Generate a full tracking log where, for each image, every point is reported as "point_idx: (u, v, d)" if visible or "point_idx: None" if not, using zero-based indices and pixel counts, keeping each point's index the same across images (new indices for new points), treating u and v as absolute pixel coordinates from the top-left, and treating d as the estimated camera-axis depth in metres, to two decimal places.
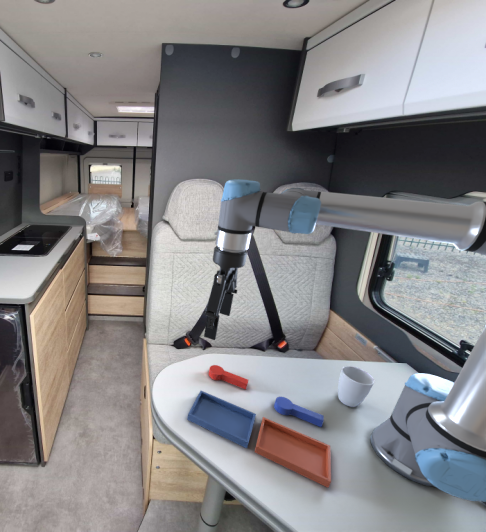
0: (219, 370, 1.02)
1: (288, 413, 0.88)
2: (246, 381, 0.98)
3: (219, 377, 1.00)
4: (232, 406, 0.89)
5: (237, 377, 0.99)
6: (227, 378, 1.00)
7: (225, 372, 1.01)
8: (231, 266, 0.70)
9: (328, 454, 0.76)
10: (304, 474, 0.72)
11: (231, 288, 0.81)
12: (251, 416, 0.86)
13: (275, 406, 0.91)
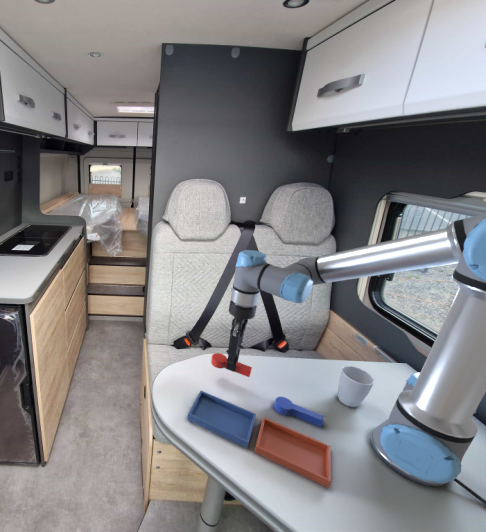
0: (221, 357, 1.00)
1: (288, 413, 0.88)
2: (249, 368, 0.96)
3: (222, 365, 0.98)
4: (232, 406, 0.89)
5: (240, 365, 0.97)
6: None
7: None
8: (244, 318, 0.88)
9: (328, 454, 0.76)
10: (304, 474, 0.72)
11: (239, 341, 0.96)
12: (251, 416, 0.86)
13: (275, 406, 0.91)
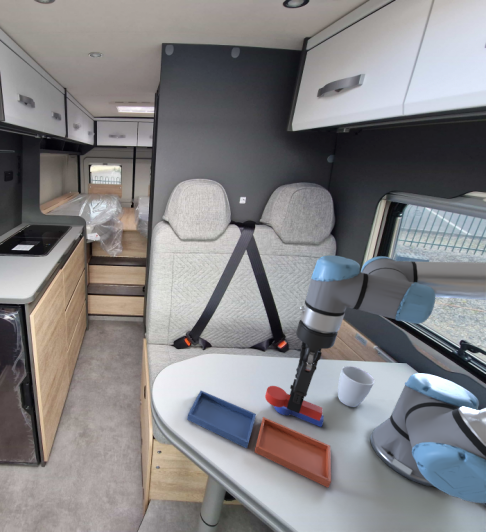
0: (280, 393, 0.77)
1: (288, 413, 0.88)
2: (320, 410, 0.73)
3: (282, 403, 0.76)
4: (232, 406, 0.89)
5: (306, 404, 0.75)
6: None
7: (289, 396, 0.77)
8: (322, 347, 0.66)
9: (328, 454, 0.76)
10: (304, 474, 0.72)
11: None
12: (251, 416, 0.86)
13: None
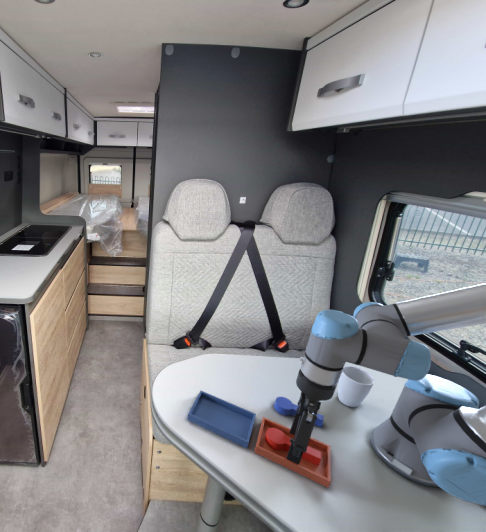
0: (279, 436, 0.79)
1: (288, 413, 0.88)
2: (319, 455, 0.74)
3: (281, 446, 0.77)
4: (232, 406, 0.89)
5: None
6: None
7: (288, 440, 0.78)
8: (321, 399, 0.67)
9: (328, 454, 0.76)
10: (304, 474, 0.72)
11: None
12: (251, 416, 0.86)
13: (275, 406, 0.91)
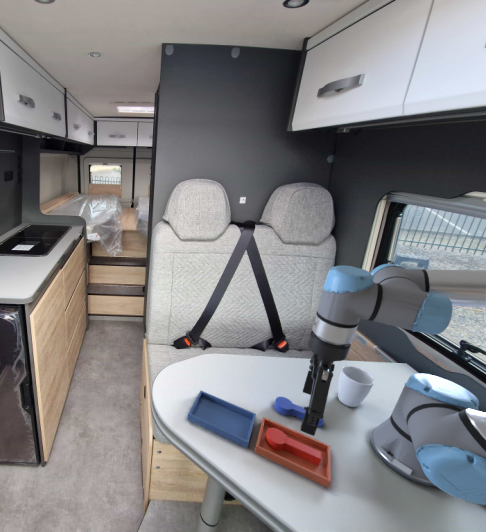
0: (279, 436, 0.79)
1: (288, 413, 0.88)
2: (319, 455, 0.74)
3: (281, 446, 0.77)
4: (232, 406, 0.89)
5: (306, 448, 0.76)
6: (292, 449, 0.76)
7: (288, 440, 0.78)
8: (335, 359, 0.64)
9: (328, 454, 0.76)
10: (304, 474, 0.72)
11: None
12: (251, 416, 0.86)
13: (275, 406, 0.91)
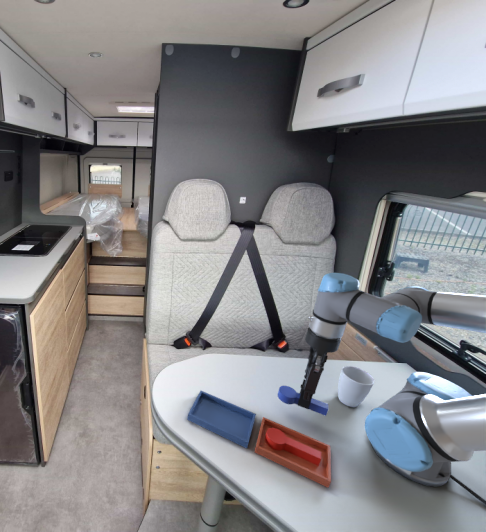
0: (279, 436, 0.79)
1: (292, 402, 0.87)
2: (319, 455, 0.74)
3: (281, 446, 0.77)
4: (232, 406, 0.89)
5: (306, 448, 0.76)
6: (292, 449, 0.76)
7: (288, 440, 0.78)
8: (328, 351, 0.76)
9: (328, 454, 0.76)
10: (304, 474, 0.72)
11: None
12: (251, 416, 0.86)
13: (278, 395, 0.89)
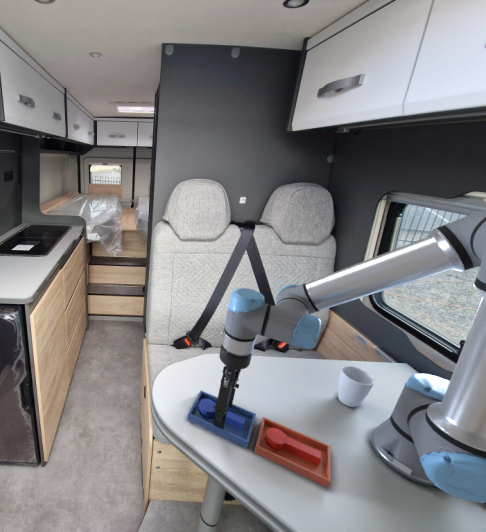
0: (279, 436, 0.79)
1: (210, 416, 0.86)
2: (319, 455, 0.74)
3: (281, 446, 0.77)
4: (232, 406, 0.89)
5: (306, 448, 0.76)
6: (292, 449, 0.76)
7: (288, 440, 0.78)
8: (237, 368, 0.75)
9: (328, 454, 0.76)
10: (304, 474, 0.72)
11: None
12: (251, 416, 0.86)
13: (199, 408, 0.88)
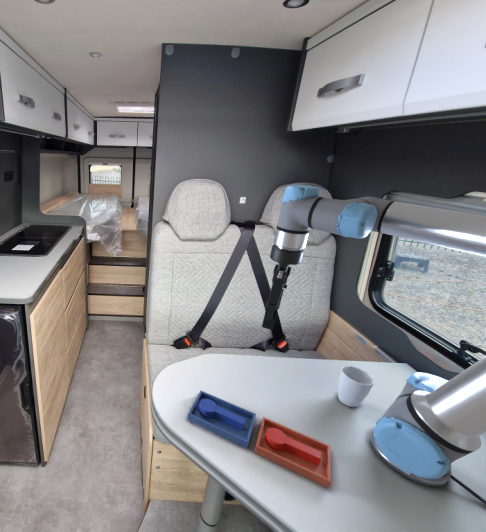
0: (279, 436, 0.79)
1: (210, 416, 0.86)
2: (319, 455, 0.74)
3: (281, 446, 0.77)
4: (232, 406, 0.89)
5: (306, 448, 0.76)
6: (292, 449, 0.76)
7: (288, 440, 0.78)
8: (290, 263, 0.78)
9: (328, 454, 0.76)
10: (304, 474, 0.72)
11: None
12: (251, 416, 0.86)
13: (199, 408, 0.88)
